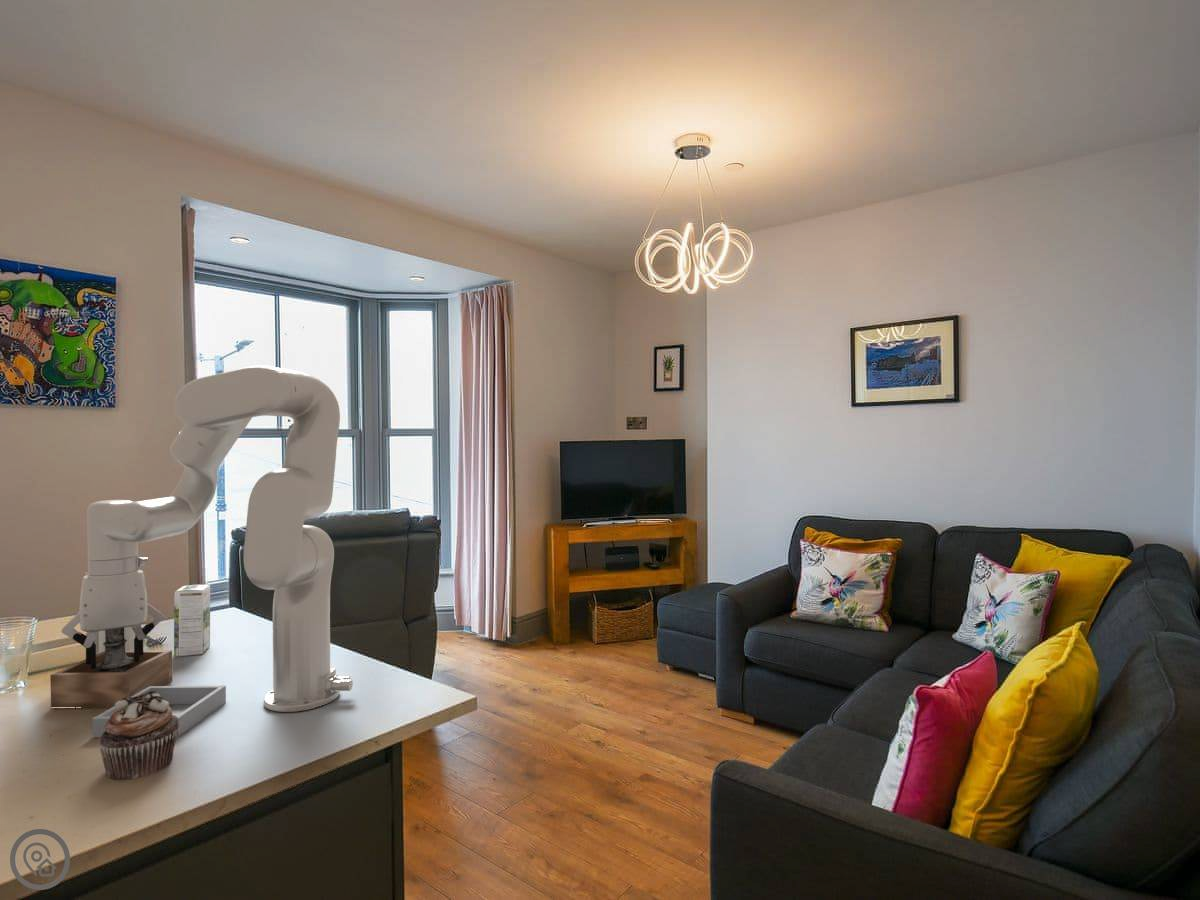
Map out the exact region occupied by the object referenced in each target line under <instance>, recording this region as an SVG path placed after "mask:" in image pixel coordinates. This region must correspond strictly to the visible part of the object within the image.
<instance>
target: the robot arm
mask: <svg viewBox="0 0 1200 900" xmlns="http://www.w3.org/2000/svg"><path fill="white" fill-rule="evenodd" d="M173 403H174V404H173V405H174V406H173V407H174V412H175V415H176V416H177V418H178V419H179V420H180V422H182V423H183V424H184V425H183V426H182V428H181V430H180V431H179V432H178V434H177V435H176V437H175V438H174V439H173V441H172V443H171V444H170V447H169V453H170V455H171V457H172V458H173V459H174V460H175V461H176V463H179V464H180V465H181V466H183V473H182V476H181V478H180V479H179V481H178V483H177V484H176V486H175V487H174V489H173V491H171V493H170V495H168V496H167V497H159V498H150V499H145V500H143V499H142V500H136V501H132V500H130V499H128V500H127V499H108V500H99V501H95V502H92V503H90V504H89V505H88V507H87V510H86V527H87V529H86V530H87V533H86V534H87V539H86V540H87V572H88V575H87V576H85V575H84V576H83V577H82V581H81V587H80V597H79V611H78V613H76V614H75V615H74V616H73V617H72V618H71V619H70V620H69V621H67V623H66V624H65V625H64V626H63V627H62V628H61V630H60V631H61V633H62V634H63V635H64V636H66V637H68V638H71V639H72V640H73V641H75V642H76V643H78V644H80V645H81V646H83V648H85V659H86V664H91V669H94V668H96V644H95V643H94V639H95V636H96V634H97V632H98V631H103V630H110V629H117V628H124V627H132V629H133V631H134V633H135V638H134V661H136V662H138V661H139V656H140V655H143V651H144V639H145V637H147V636H148V634H150V632H151V631H153V629H155V627H156V626H158V624H160V623H161V622H162V621H163V620H164V618H165V615H164V613H162V612H161V611H160V610H158V609H156V608H155V607H154V606H152V605H151V604H150V603H148V593H147V592H148V591H147V583H146V578H145V577H146V576H145V573H144V570H141V569H139V568H141V567H142V566H147V565H148V557H143V556H142V557H141V556H139V543H146V542H151V541H157V540H160V539H164V538H169V537H174V536H177V535H182V534H184V533H186V532H188V531H189V530H190V529H192V528H193V527H194V526H195V525H196V524H197V523H198V522H199V520H200V519H201V517H202V516H203V514H204V513H205V512H206V511H207V509H208V507H209V506H210V504H211V503H212V501H213V500H214V497H215V494H216V490H217V485H218V479H219V478H218V469H219V467H220V465H221V464H222V463H223V461H224V459H225V458H226V457H227V455H228V453H229V452H230V451H231V449H232V448H233V446H234V444H235V443H236V442H237V441H238V439H239V438H240V436H241V435H242V433H243V432H244V430H245V429H246V428H247V426H248V424H249V423H250V421H252V419H253V418H255V417H263V416H264V417H265V416H267V417H269V416H271V417H288V418H291V419H292V420H293V423H292V426H291V428H290V430H289V433H288V435H287V438H286V442H285V452H284V460H283V467H282V468H280V469H275V470H272V471H268V472H266V473H265V474H263V475H262V476H261V477H260V478H259V479H258V480H257V481H256V482H255V484H254V486H253V487H252V490H251V492H250V494H249V498H248V503H247V511H246V512H247V516H246V524H245V536H244V544H243V545H244V546H243V567H244V570H245V571H244V572H245V573H246V576H247V578H248V579H249V580H250V582H251V583H252V584H253V585H254V586H256V587H257V588H259V589H263V590H266V591H267V590H269V591H271V590H272V591H274V593H273V599H272V678H273V679H272V681H273V682H272V683H273V684H272V685H273V687H272V689H271V690H270V691H268V692H267V693H266V694H265V695H264V697H263V706H264V707H265V708H266V709H267V710H270V711H274V712H278V713H295V712H302V711H308V710H309V711H310V710H312V709H315V708H316V707H317V708H319V706H320V707H322V705H323V706H325V705H327V704H329V703H331V702H333V701H334V700H336V699H337V698H338V696H339V694H340V692H349V691H350V692H351V691H352V689H353V684H354V683H353V680H352V679H351V676H350V675H349V676H346V675H345V676H338V675H337V674H336V673H337V672H336V671H337V670H336V668H334V667H333V668H331V582H332V575H333V570H334V560H335V547H334V544H333V540H332V539H331V537H330V536H329V534H328V532H326V531H325V530H323V528H320V527H317V526H316V525H310V524H309V525H308V524H304V523H305V521H307V520H311V519H315V518H317V517H320V516H322V515H323V514H324V513H326V512H328V510H329V508H330V506H331V504H332V500H333V492H334V483H335V482H334V480H335V473H336V472H335V470H336V460H337V449H338V447H337V446H338V437H339V431H340V421H341V420H340V419H341V412H340V405H339V401H338V400H337V397H336V396H335V394H334V392H333V391H332V389H331V388H330V387H329V386H328V385H326V383H324V382H323V381H321V380H320V379H318V378H316V377H315V376H313V375H310V374H308V373H305V372H303V371H298V370H293V369H288V368H281V367H275V366H270V365H253V366H248V367H246V366H245V367H243V368H237V369H235V370H229V371H225V372H221V373H220V372H219V373H216V374H211V375H208V376H203V377H199V378H195V379H193V380H191V381H189V382H187V383H186V384H184V385H183V386H182V387H181V388H180V389H179V390H178V392H177V394H176V396H175V399H174V402H173ZM148 615H149V616H151V617H152V619H151V620H150V621H148ZM147 621H148V622H147ZM145 623H146V624H145ZM142 624H145V625H144V626H142ZM78 625H79V627H80V630H81V631H83V632H84V633H86V632H88V634H87V636H86V635H85V634H84V633H82V632H80V631H79V630H77V629H75V627H76V626H78Z"/></svg>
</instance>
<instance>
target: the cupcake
mask: <svg viewBox="0 0 1200 900" xmlns="http://www.w3.org/2000/svg"><path fill="white" fill-rule="evenodd" d="M162 699H163V697H161V696H160V694H156V691H150V692H147V693H143V694H140V695H138V696H136V697H126V698H122V700H121V701H118V702H116V703H115V710H116V712H115V713H113V714H112V716H111V717H110V719H109V720H108V721H107V723H106V725H105V732H104V733H103V734H102V736H101V737H99V741H98V745H99V751H100V754H101V758H102V762H103V766H104V771H105V773H106V776H107V777H108V779H109V778H110V779H112V780H117V781H123V780H124V781H125V780H134V779H138V778H142V777H146V776H149V775H152V774H155V773H156V772H159V771H160V770H162V769H165V768H166V767H168V765H170V764H171V762H172V761H173V758H174V750H175V744H176V741H177V734H178V730H179V727H180V726H179V725H180V724H179V723H178V719H177V717H176V716H177V715H174V714H173V710H172V708H171V707H170V704H169V702H168V701H165V700H162Z"/></svg>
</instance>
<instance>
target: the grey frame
mask: <svg viewBox="0 0 1200 900" xmlns="http://www.w3.org/2000/svg"><path fill="white" fill-rule="evenodd" d="M226 686H227V685H164V686H149V687H147V688H146V689H144V690H142V691H140V692H138V693H137V694H135V695H133V696H131V697H136V696H138V695H140V694H143V693H147V692H150V691H156V694H160V696H161V697H163V699H162V700H165V701H168V702H169V705H191V706H189V707H188V708H186V709H184V710H183V711H182V712H180V713H179V714H177V715H175V716H176V717H177V719H178V723H179V724H180V725H179V726H180V727H179V730H178V734H177V737H181V736H182V735H183V734H184V733H186V732H187V731H189V730H190V729H191V728H193V727H195V725H197V724H198V723H199V722H201V721H202V720H204V719H205V718H206V717H208V716H209V715H210V714H212V713H213V712H214V711H216V710H217V709H220V708H221V706H223V705H224V704H225V703H226V702H227V687H226ZM115 712H116V710H115V706H114V707H112V708H107V710H105V711H103V712H102V713H100V714H98V715H97V716H95V717H93V718H91V722H92V723H91V725H92V731H91V732H92V738H101V736H102V734H103V733H104V732H105V725H106V723H107V721H108V720H109V719H110V717H111V716H112V714H113V713H115ZM177 737H176V738H177Z"/></svg>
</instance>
